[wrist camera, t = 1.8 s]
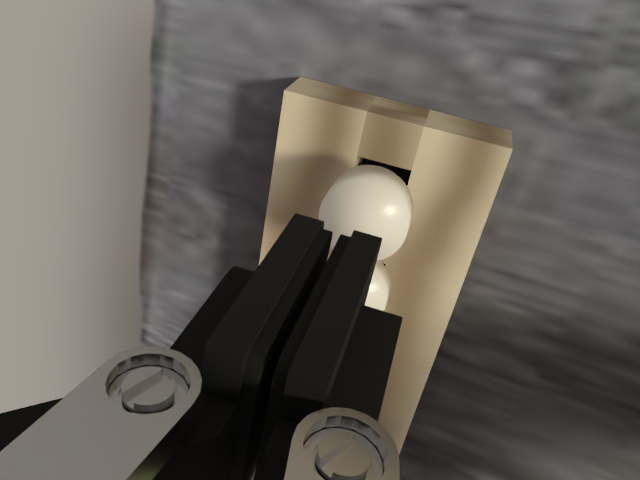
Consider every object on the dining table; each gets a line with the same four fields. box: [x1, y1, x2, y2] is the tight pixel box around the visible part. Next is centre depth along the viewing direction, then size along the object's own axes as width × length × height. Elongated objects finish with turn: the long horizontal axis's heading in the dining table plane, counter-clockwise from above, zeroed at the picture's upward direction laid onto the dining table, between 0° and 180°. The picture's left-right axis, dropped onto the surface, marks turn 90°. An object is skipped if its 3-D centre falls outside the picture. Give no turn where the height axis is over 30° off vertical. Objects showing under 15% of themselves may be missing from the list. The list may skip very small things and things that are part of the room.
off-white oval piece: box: [319, 165, 413, 261], centre depth 30 cm, size 4×4×5 cm
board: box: [259, 77, 513, 455], centre depth 38 cm, size 12×26×3 cm, turn 170°
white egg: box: [327, 253, 391, 311], centre depth 35 cm, size 4×4×5 cm
